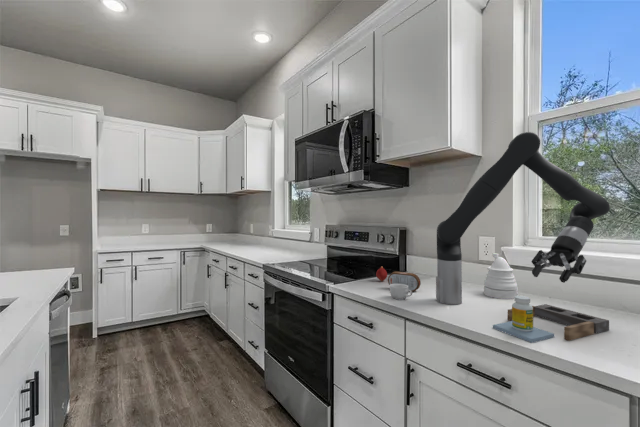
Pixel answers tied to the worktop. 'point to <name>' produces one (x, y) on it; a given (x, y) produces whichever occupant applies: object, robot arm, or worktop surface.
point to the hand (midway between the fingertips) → (547, 278)
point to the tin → (405, 280)
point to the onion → (381, 274)
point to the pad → (528, 336)
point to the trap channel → (570, 321)
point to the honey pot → (500, 280)
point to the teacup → (399, 291)
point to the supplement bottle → (522, 314)
